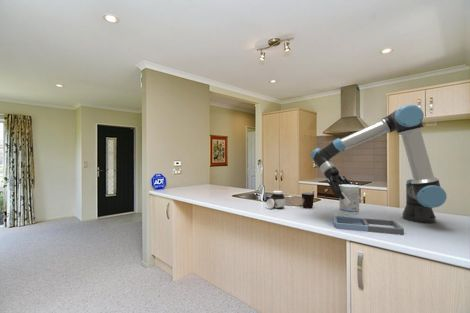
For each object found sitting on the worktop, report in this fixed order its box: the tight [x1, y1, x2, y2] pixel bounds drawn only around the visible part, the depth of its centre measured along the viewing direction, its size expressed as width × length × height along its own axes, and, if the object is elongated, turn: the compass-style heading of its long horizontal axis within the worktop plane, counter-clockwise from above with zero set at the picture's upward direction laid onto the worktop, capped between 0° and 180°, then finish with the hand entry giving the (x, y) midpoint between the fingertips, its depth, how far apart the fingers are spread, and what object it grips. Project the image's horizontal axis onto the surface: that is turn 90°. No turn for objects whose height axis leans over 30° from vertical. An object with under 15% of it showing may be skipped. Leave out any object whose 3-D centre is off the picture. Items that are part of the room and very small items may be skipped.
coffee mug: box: [301, 192, 315, 210], centre depth 170 cm, size 12×9×10 cm
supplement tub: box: [339, 184, 360, 216], centre depth 127 cm, size 10×10×15 cm
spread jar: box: [265, 190, 286, 210], centre depth 167 cm, size 12×11×12 cm
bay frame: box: [332, 215, 405, 236], centre depth 125 cm, size 30×16×2 cm, turn 70°
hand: (354, 202), depth 125 cm, fingers closed on supplement tub, 9 cm apart
